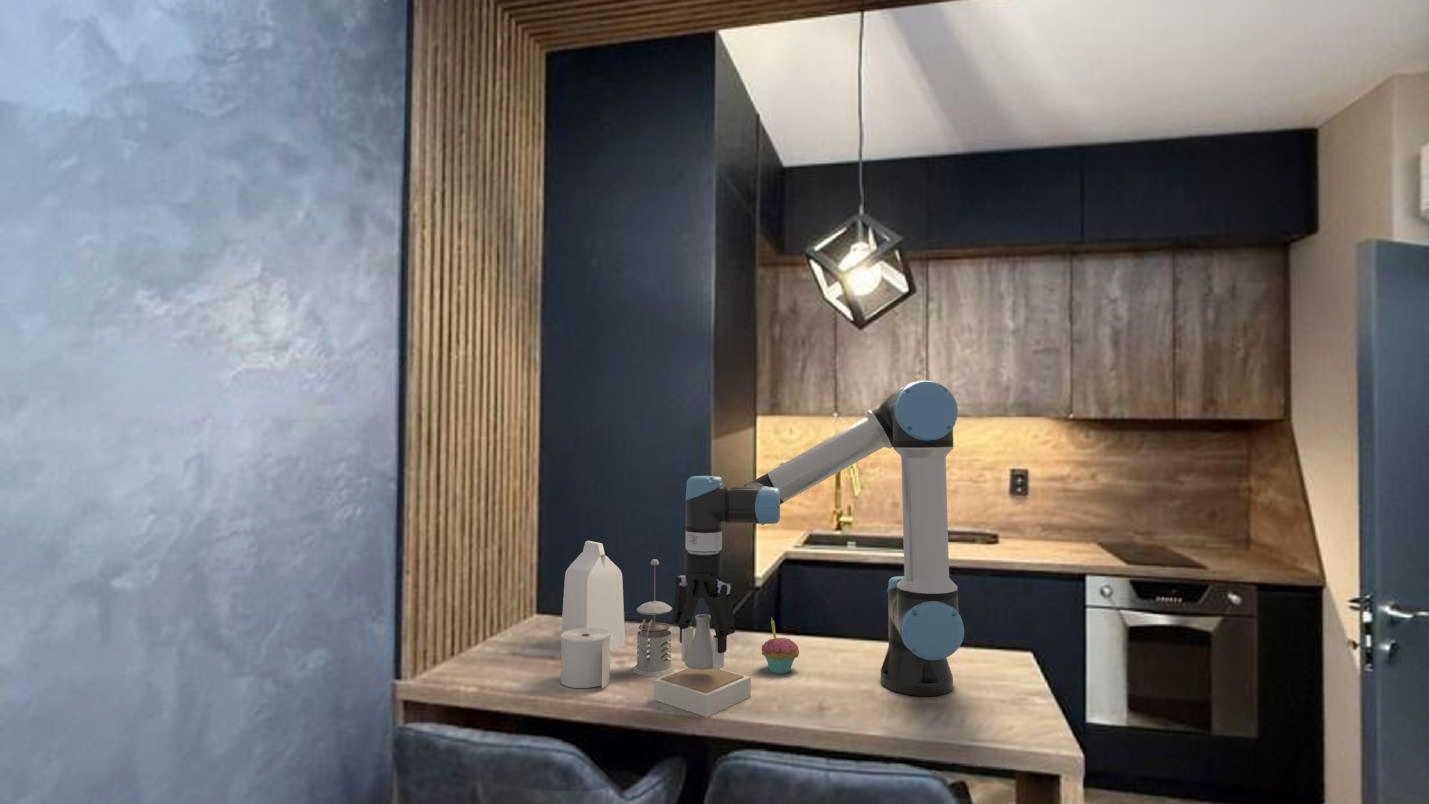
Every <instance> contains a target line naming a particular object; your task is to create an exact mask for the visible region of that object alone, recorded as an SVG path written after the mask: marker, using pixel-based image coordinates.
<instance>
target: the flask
mask: <svg viewBox="0 0 1429 804" xmlns="http://www.w3.org/2000/svg"><path fill="white" fill-rule="evenodd" d="M694 618H695V620H696V624H695V625H696V626H695V631H694V635H693V642H692V645H691V648H690V651H689V654H688V656H687V659H686V661H685V663H684V665H685V666H686V668H687V667H688V668H692V669H700V670H705V669H712V667H713V637H712V634H711V629H710V620H711V615H710V614H706V613H705V614H702V613H701V614H700V613H699V614H696V615H695V616H694Z"/></svg>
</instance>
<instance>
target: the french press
mask: <svg viewBox="0 0 1429 804" xmlns="http://www.w3.org/2000/svg"><path fill="white" fill-rule="evenodd" d="M659 564H660V562H659V560H658V559H656V558H654V559H651V561H650V565H652V566H659ZM653 578H654V579H653V580H654V581H653V582H654V583H653V585H654V587H653V588H654V589H653V591H654V592H653V593H654V594H653V595H654V597H653V600H652V601H648V602H645V603H642V604H641V605H639V606H638V607H637V608H636V612H637V613H638V614H641V615H646V616H647V615H648V616H653V619H650V621H647V620H646V618H644V619H643V620H642V622H641V624H640V625H638V629H639V631H637V633H636V634H637V637H636V638H637V642H636V644H637V646H636V650H637V652H636V656H637V657H636V664H635V666H633V668H632V671H634V672H633V673H634V674H636V673H637V675H639V676H643V677H663V676H666V675H669V674H670V673H674V672H675V671H676V667H675V666H674V665H673V664H672V660H671V659H672V643H671V642H672V631H671V630H669V629H670V627H671V626H670V624H668V623H665V622H656V616H657V615H663V614H668V613H670V612H671V611H673V607H672V606H671V605H669V604H667V603H665V602H664V601H657V600H656V567H654V577H653ZM646 621H647V622H646ZM668 641H669V642H668ZM668 647H669V648H668ZM674 670H675V671H674Z"/></svg>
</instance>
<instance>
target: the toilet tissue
mask: <svg viewBox="0 0 1429 804" xmlns="http://www.w3.org/2000/svg"><path fill="white" fill-rule="evenodd" d="M610 680H611V650H610V632H609V631H607V630H604V629H599V628H577V629H573V630H568V631H566V632H563V634H561V633H560V684H561V685H563V686H565V687H568V688H572V689H573V688H575V689H588V688H595V687H600V686H601V689H604V688H605V687H606V686H607V685H608V684H609V683H610Z"/></svg>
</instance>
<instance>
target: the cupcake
mask: <svg viewBox="0 0 1429 804" xmlns="http://www.w3.org/2000/svg"><path fill="white" fill-rule="evenodd" d="M770 619H771V621H770V623H771V629H772V630H771V631H772V636H773V638H769V639H768V640H765V641H764V643H763V644H761V646H762V647H761V655H762V656H764V657H765V660H766V662H767V665H768V668H769V669H768V670H769V671H770V672H772V673H775V674H786V673H789V672H790V671H792V670H791V669H792V666H793V663H794V660H795V659H796V658H798V657H799V655H800V650H799V646H798V645H797V643H795V642H794V641H793V640H791V639H790V638H786V637H777V633H776V626H775V625H776V624H775V621H774V620H773V618H772V617H770Z"/></svg>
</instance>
